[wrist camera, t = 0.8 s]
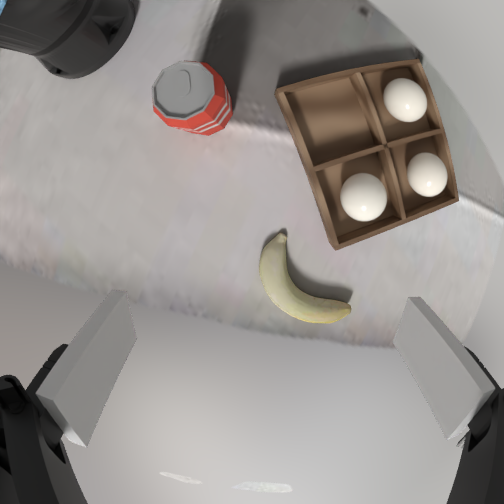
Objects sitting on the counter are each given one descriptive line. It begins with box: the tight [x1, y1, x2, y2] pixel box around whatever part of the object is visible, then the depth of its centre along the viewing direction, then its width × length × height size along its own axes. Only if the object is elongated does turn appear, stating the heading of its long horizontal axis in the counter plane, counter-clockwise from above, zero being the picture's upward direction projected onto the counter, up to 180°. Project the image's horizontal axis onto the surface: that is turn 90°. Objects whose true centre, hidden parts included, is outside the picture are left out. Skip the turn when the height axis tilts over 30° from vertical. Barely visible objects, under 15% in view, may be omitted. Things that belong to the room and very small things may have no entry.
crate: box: [274, 59, 459, 251], centre depth 29 cm, size 20×20×3 cm
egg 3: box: [407, 152, 448, 197], centre depth 29 cm, size 6×6×6 cm
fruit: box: [259, 233, 351, 323], centre depth 36 cm, size 7×15×3 cm, turn 44°
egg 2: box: [383, 78, 427, 122], centre depth 26 cm, size 6×6×6 cm
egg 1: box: [340, 173, 387, 221], centre depth 30 cm, size 6×6×6 cm
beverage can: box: [152, 61, 233, 136], centre depth 24 cm, size 6×6×12 cm
